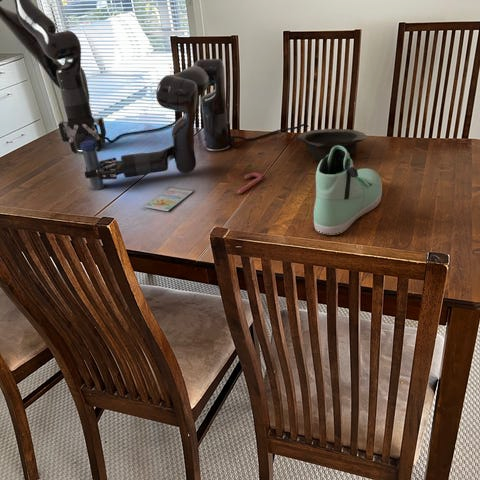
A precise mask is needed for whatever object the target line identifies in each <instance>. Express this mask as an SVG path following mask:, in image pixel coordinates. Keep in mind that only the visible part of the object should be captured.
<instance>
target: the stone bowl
mask: <svg viewBox="0 0 480 480" xmlns="http://www.w3.org/2000/svg"><path fill="white" fill-rule="evenodd" d="M368 137H369V136H368V135H367V134H365V133H364V132H362V131H359V130H355V129H348V128H324V129H314V130H308V131H303V132H301V133H299V134H298V136H297V137H296V140H298V141H299V142H302V143H305V148H306V150H307V152H308V154H309V155H310V156H312V157H313V158H314V161H315V162H317V163H320V161H321V160H322V159H324V158H325V157H326V156H327V155H329V154H330V152H331V149H332V148H333V147H334V146H342V147H344V148H345V149H346V150H347V152H348V153H349V156H350V158H353V157H354V156H355V154H356V149H357V144H358V143H360V142H362V141H364V140H366V139H368Z"/></svg>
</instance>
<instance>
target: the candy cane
mask: <svg viewBox="0 0 480 480" xmlns="http://www.w3.org/2000/svg"><path fill="white" fill-rule="evenodd" d="M250 178H254V179H252V180H251V181H250V182H248V183H247V184H246V185H244V186H242V187H241V188H239V189H238V190H237V191H236V194H237V195H241V194H243V193H244V192H246V191H247V190H249V189H250V188H252V187H253V186H254V185H256V184H258V183H259V182H261V181H262V180H263V174H261V173H259V172H249V173H247V174H245V175H244V180H248V179H250Z"/></svg>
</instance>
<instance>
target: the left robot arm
mask: <svg viewBox="0 0 480 480" xmlns="http://www.w3.org/2000/svg"><path fill="white" fill-rule="evenodd" d="M13 1H14V5H15V11H16V12H14V11H11V10H9V9H8V8H5V7H4V6H3V5H1V4H0V21H1V22H2V23H3V24H4V25H5V26H6V27H7V29H8V30H9V31H10V32H11V33H12V34H13V35H14V37H15V38H16V39H17V40H18V41H19V43H20V44H21V45H22V46H23V47H24V49H26V50H27V51H28V53H29V54H30V55H31V56H32V57H33V58H34V59H35V61H36V62H37V63H38V64H39V66H41V67H42V69H43V70H44V72H45V73H46V74H47V75H48V77H49V79H50V80H51V81H52V82H53V85H55V86H56V87H57V88H58V89H59V90H60V95H61V100H62V103H63V107H64V112H65V115H66V118H67V121H63V120H62V121H60V122H59V123H58V129H59V133H60V135H61V136H60V137H61V140H62V141H63V142H64V143H65V142H67V143H69V146H70V150H71V152H72V153H74V154H78V153H80V154H83V151H82V150H81V146H80V143H82V142H84V141H95V144H96V151H97V150H98V152H101V151H102V150H103V147H104V145H103V144H106V141H107V142H108V143H114V142H116V141H117V140H119V139H120V138H121V137H124V136H129V135H136V134H143V133H151V132H156V131H162V130H165V129H167V128H169V127H172V126H174V125H175V124H176V122H177V121H178V120H180V119H181V118H182V117H180V118H177V119H176V120H175V121H174V122H172V123H170V124H167V125H163V126H161V127H157V128H151V129H145V130H137V131H130V132H129V131H128V132H123V133H120V134H119V135H117V136H116V137H115V138H114V139H112V140H110V138H109V137H108V136H106V135H107V131H106V126H105V122H104V117H102V116H100V117H98V118H94V116H93V113H92V108H91V104H90V91H89V86H88V80H87V75H86V72H85V70H84V69H83V67H82V45H81V42H80V39H79V38H78V37H79V36H77V35H76V34H75V33H74V32H73V31H72V30H64V31H58V32H57V26H56V24H55V23H54V21H53V20H52V19H51V18H50V16H48V15H47V14H45V13H44V12H43V11H42V10H41V9H40V8H39V7H38V6H37V5H36V4H35V3H34V2H33V1H32V0H13ZM1 2H3V0H0V3H1ZM59 60H64V63H63V64H62V63H61V62H60V61H59ZM98 127H99V129H98ZM67 128H70V130H71V134H70V136H68V133H67ZM99 131H100V132H99Z"/></svg>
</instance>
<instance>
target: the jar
mask: <svg viewBox="0 0 480 480" xmlns="http://www.w3.org/2000/svg"><path fill="white" fill-rule="evenodd" d="M82 151H83V153H82V155H83V159H84V163H85V169H86V168H87V171H92V170H98V169H100V165H99V161H100V160H99V156H98V152H97V150H96V148H95V149H92V150H87V151H84V150H82ZM88 179H89V184H90V187H91V189H92V190H93V191H97V190H98V191H99V190H102V189H103V188H105V183H104V179H101V180H100V179H99V178H98V177H93V178H88Z"/></svg>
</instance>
